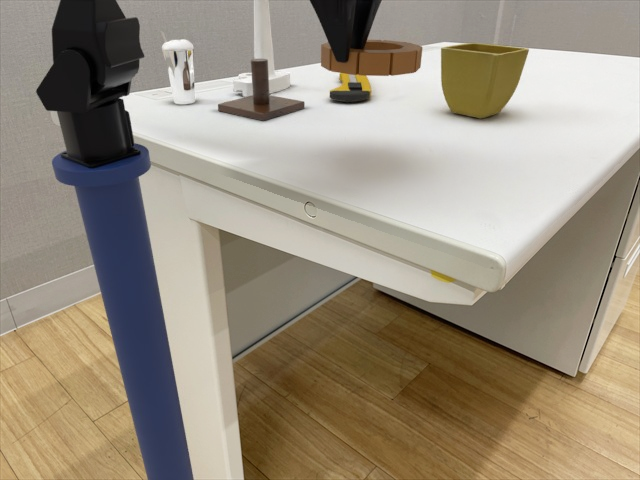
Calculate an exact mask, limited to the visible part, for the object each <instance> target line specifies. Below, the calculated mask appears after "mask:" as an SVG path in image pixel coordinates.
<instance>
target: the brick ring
mask: <svg viewBox="0 0 640 480" xmlns="http://www.w3.org/2000/svg"><path fill="white" fill-rule="evenodd" d="M422 56H423V46H422V45H420V44H419V45H418V44H415V43H412V42H408V41H407V42H406V41H397V40H387V39H367V42H366V45H365V47H364V50H360V49H351V48H350V53H349V58H348V61H347V62H346V63H341V62H337V61H336V59H335V57H334V54H333V52H332V50H331V47H330V45H329V42H328V41H327V42H325V43H323V44H322V43H321V45H320V67H322V68H323V69H325V70H327V71H329V72H332V73H339V74H340V73H345V74H351V75H358V74H359V75H365V76H367V77H368V76H369V77H370V76H371V77H373V76H375V77H376V76H377V77H389V76H392V77H395V76H401V75H409V74H414V73H417V72H418V71H419V70H420V69H421V64H422Z"/></svg>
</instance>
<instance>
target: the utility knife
mask: <svg viewBox="0 0 640 480" xmlns="http://www.w3.org/2000/svg"><path fill="white" fill-rule="evenodd" d="M339 80H340V81H341V82H342V83H341V85H340V86H338V87H334V88H333V89H331V90H329V98H330V99H331V100H333V101H338V102H344V103H345V102H351V103H353V102H361V101H367V100H368V99H369V98H371V97H372V87H371V83H370V81H369V78H368V76H365V75H359V74H358V75H351V74H345V73H339Z"/></svg>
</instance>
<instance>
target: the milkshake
mask: <svg viewBox="0 0 640 480" xmlns="http://www.w3.org/2000/svg"><path fill="white" fill-rule="evenodd" d="M160 33H161V36H162V38H163V41H164V43H162V46H161V51H162V55H163V60H164V64H165V67H166V70H167V76H168V80H169V83H170V84H169V86H170V90H171V95H172V100H173V103H174V104H175V105H178V106H179V105H181V106H182V105H192V104H194V103H196V90H195V89H196V88H195V87H196V86H195V54H194V52H195V51H194V49H195V48H194V47H195V46H194V44H193V43H192V42H191V41H190V40H188V39H185V38H181V39H171V40H169V41H168V39H167V37H166V34H165V32H164V31H160Z"/></svg>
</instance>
